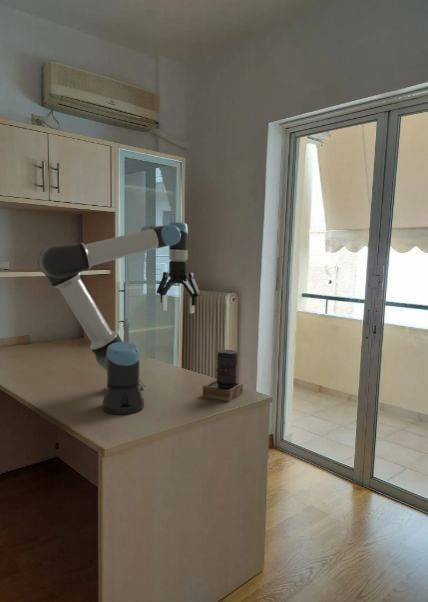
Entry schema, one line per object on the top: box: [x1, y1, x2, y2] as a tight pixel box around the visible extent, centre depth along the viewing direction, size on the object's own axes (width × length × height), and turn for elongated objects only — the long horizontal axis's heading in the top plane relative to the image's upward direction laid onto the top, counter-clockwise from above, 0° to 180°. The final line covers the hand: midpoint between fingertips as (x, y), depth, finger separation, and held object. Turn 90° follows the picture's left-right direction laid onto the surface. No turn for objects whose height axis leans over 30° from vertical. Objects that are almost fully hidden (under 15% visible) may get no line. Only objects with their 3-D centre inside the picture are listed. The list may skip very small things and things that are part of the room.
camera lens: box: [216, 349, 238, 390], centre depth 179 cm, size 8×8×15 cm
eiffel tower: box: [104, 318, 150, 391], centre depth 185 cm, size 13×13×30 cm
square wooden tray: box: [202, 378, 244, 402], centre depth 181 cm, size 12×12×4 cm
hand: (177, 312), depth 185 cm, fingers open, 13 cm apart
